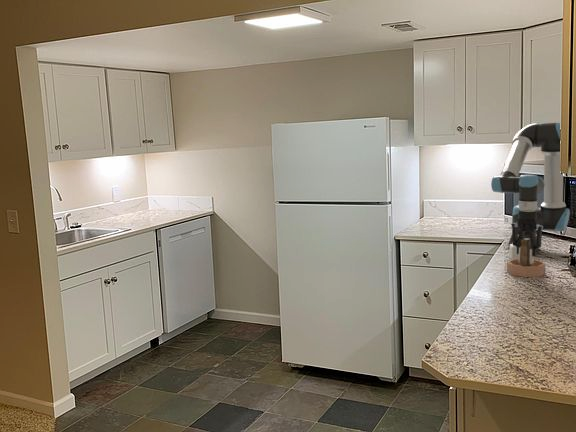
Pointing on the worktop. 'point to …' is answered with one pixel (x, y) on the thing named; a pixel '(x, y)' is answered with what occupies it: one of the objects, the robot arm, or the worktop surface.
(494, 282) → the worktop surface
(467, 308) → the worktop surface
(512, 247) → the medicine bottle
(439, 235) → the worktop surface
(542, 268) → the orange octagonal tray
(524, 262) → the wooden bar
